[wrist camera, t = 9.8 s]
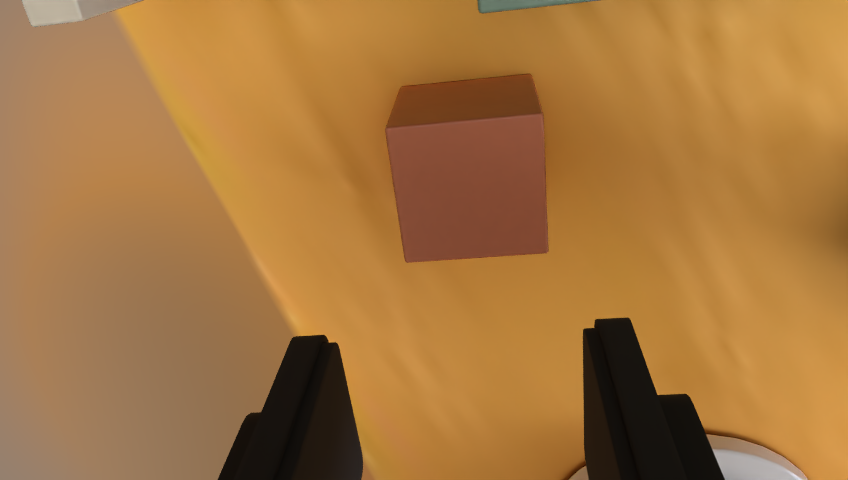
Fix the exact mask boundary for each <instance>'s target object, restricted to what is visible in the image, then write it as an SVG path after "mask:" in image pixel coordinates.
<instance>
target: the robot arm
mask: <svg viewBox="0 0 848 480" xmlns="http://www.w3.org/2000/svg"><path fill="white" fill-rule="evenodd" d="M583 382H584V451H585V461H586V466H584V467H583V468H581V469H580V470H578V471H577V472H576V473H575V474H574V475H573V476H572V477H571V478H570V479H569V480H808V479H807V477H806V476H805V475H804V474H803V472H802V471H801V470H800V469H798V468H797V467H796V466H795V465H793V464H792V463H791V462H790V461H788V460H787V459H786V458H785V457H783V456H781V455H779V454H777V453H775V452H773V451H771V450H769V449H767V448H765V447H763V446H760V445H757V444H754V443H750V442H747V441H744V440H740V439H737V438H731V437H724V436H717V435H709V434H706V433H705V431H704V428H703V426H702V424H701V421H700V419H699V416H698V414H697V412H696V409H695V407H694V405H693V403H692V401H691V399H690V397H689V396H688V395H687V394H673V395H657V393H656V390H655V387H654V384H653V382H652V379H651V376H650V373H649V370H648V368H647V365H646V362H645V359H644V356H643V354H642V351H641V348H640V345H639V342H638V340H637V337H636V334H635V331H634V328H633V326H632V323H631V320H630V319H629V318H612V319H596V320H595V325H594V328H586V329H583ZM362 470H363V457H362V451H361V446H360V441H359V437H358V432H357V428H356V423H355V418H354V414H353V409H352V404H351V400H350V395H349V391H348V386H347V381H346V377H345V372H344V368H343V363H342V358H341V354H340V349H339V346H338V344H337V343H336V342H334V343H329V342H328V339H327V337H326V336H325V335H314V336H296V337H293V338H292V340H291V341H290V344H289V346H288V348H287V351H286V354H285V356H284V358H283V361H282V363H281V366H280V368H279V370H278V373H277V375H276V378H275V380H274V383H273V385H272V388H271V390H270V393H269V395H268V397H267V400H266V402H265V405H264V407H263V410H262V412H260V413H250V414H249V415H247V416H246V418H245V420H244V421H243V423H242V425H241V428H240V430H239V432H238V435H237V437H236V439H235V441H234V443H233V446H232V448H231V450H230V453H229V455H228V457H227V459H226V462H225V464H224V466H223V469H222V471H221V473H220V475H219V478H218V480H361V478H362V472H363V471H362Z"/></svg>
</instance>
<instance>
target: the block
mask: <svg viewBox="0 0 848 480" xmlns="http://www.w3.org/2000/svg"><path fill="white" fill-rule="evenodd" d="M385 132H386V139H387V145H388V152H389V158H390V165H391V172H392V178H393V185H394V192H395V198H396V205H397V212H398V218H399V225H400V232H401V238H402V245H403V252H404V258H405V261H406V262H407V263H409V262H424V261H438V260H453V259H467V258H482V257H496V256H511V255H525V254H540V253H547V252H548V224H547V197H546V170H545V143H544V116H543V112H542V108H541V105H540V101H539V98H538V95H537V91H536V88H535V84H534V81H533V78H532V75H531V74H524V75H514V76H504V77H494V78H484V79H474V80H464V81H454V82H444V83H434V84H424V85H414V86H404V87H401V88H400V91H399V94H398V96H397V99H396V101H395V104H394V107H393V109H392V112H391V115H390V117H389V120H388V123H387V125H386V128H385Z"/></svg>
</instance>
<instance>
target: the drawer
mask: <svg viewBox="0 0 848 480" xmlns="http://www.w3.org/2000/svg"><path fill="white" fill-rule="evenodd" d="M140 1H143V0H22V3H23V5H24V8H25V11H26V13H27V16H28V19H29V21H30V24H31V26H34V27H38V26H46V25H54V24H63V23H72V22H80V21H84V20H87V19H90V18H93V17H96V16H98V15H102V14H105V13H108V12H111V11H114V10H117V9H120V8H123V7H125V6H128V5H131V4H134V3H137V2H140Z"/></svg>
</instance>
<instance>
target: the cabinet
mask: <svg viewBox="0 0 848 480" xmlns="http://www.w3.org/2000/svg"><path fill="white" fill-rule="evenodd" d="M590 1H599V0H478V10H479V12H480V13H491V12H500V11H509V10H518V9H527V8H536V7H545V6H554V5H563V4H572V3H581V2H590Z"/></svg>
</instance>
